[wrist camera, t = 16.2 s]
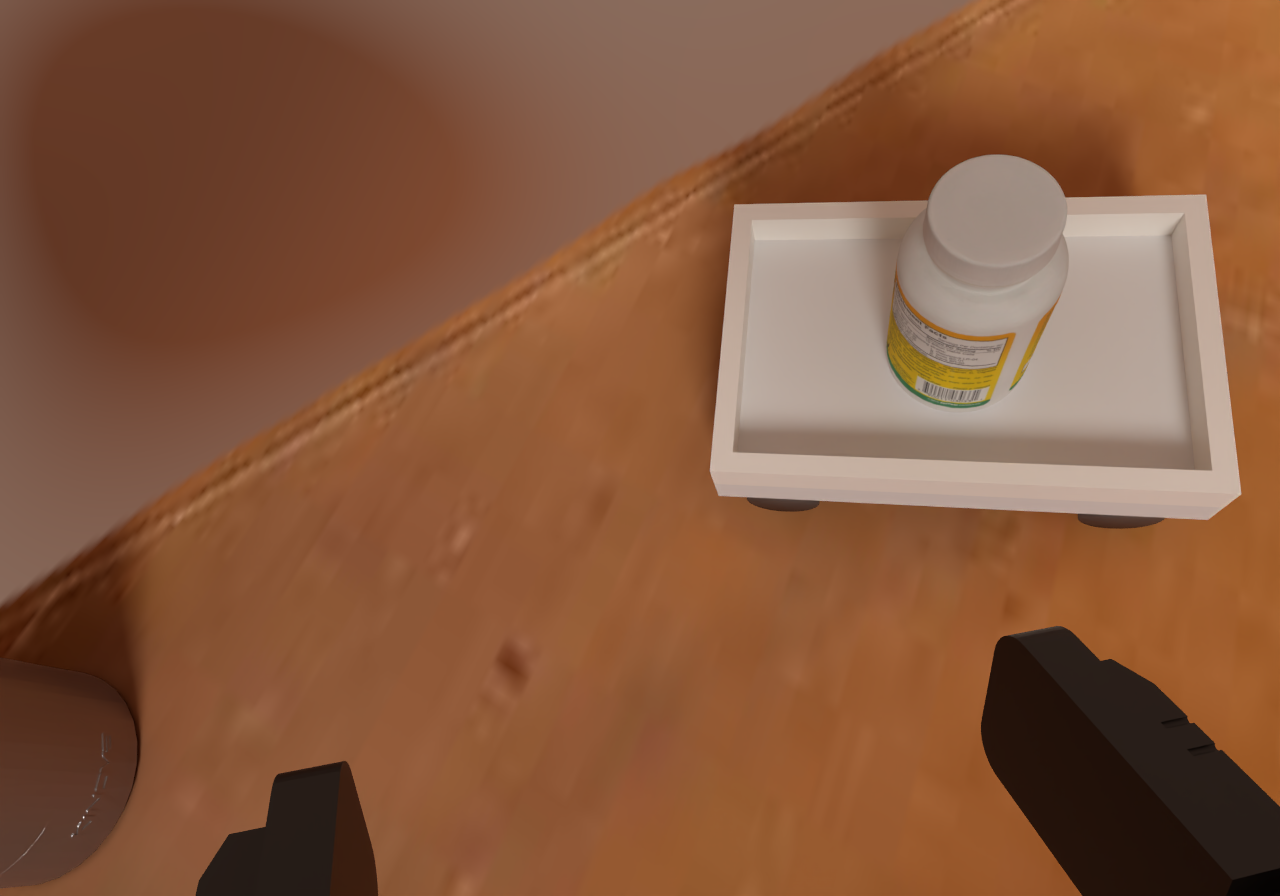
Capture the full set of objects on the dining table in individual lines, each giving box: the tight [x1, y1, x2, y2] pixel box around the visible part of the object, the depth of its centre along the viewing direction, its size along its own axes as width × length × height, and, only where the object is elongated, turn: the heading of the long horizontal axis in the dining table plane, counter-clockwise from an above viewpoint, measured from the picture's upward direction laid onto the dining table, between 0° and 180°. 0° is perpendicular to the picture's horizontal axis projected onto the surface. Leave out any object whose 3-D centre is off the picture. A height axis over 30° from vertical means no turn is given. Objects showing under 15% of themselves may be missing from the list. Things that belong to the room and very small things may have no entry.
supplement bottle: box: [886, 154, 1069, 412], centre depth 32 cm, size 5×5×10 cm
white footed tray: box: [710, 195, 1241, 528], centre depth 38 cm, size 18×12×6 cm, turn 84°
